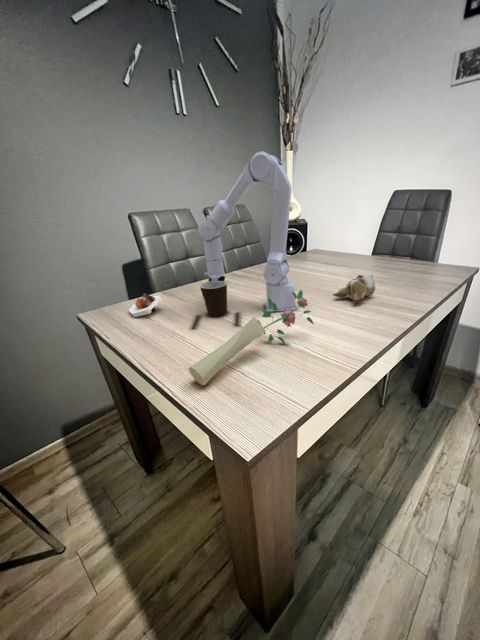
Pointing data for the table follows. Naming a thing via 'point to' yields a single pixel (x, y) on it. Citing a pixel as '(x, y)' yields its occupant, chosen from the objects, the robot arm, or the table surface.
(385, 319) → the table surface
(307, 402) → the table surface
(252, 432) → the table surface
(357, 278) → the ceramic sculpture
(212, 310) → the coffee mug
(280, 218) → the robot arm
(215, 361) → the flower vase
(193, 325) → the guide strips
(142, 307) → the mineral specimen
